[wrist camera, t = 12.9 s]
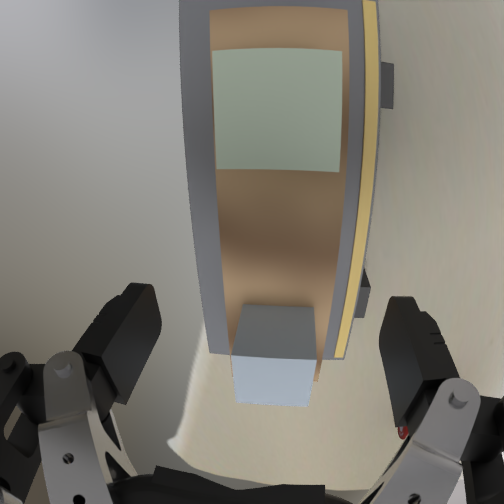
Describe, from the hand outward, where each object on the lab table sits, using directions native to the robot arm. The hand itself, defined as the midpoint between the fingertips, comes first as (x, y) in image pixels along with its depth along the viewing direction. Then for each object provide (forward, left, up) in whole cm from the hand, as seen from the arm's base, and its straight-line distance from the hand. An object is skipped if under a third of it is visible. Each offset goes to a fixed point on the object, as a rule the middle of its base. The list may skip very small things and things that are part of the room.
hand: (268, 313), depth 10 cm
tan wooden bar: (0, 0, -11) cm, 11 cm away
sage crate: (-6, 0, -6) cm, 9 cm away
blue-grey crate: (+6, 0, -6) cm, 9 cm away
